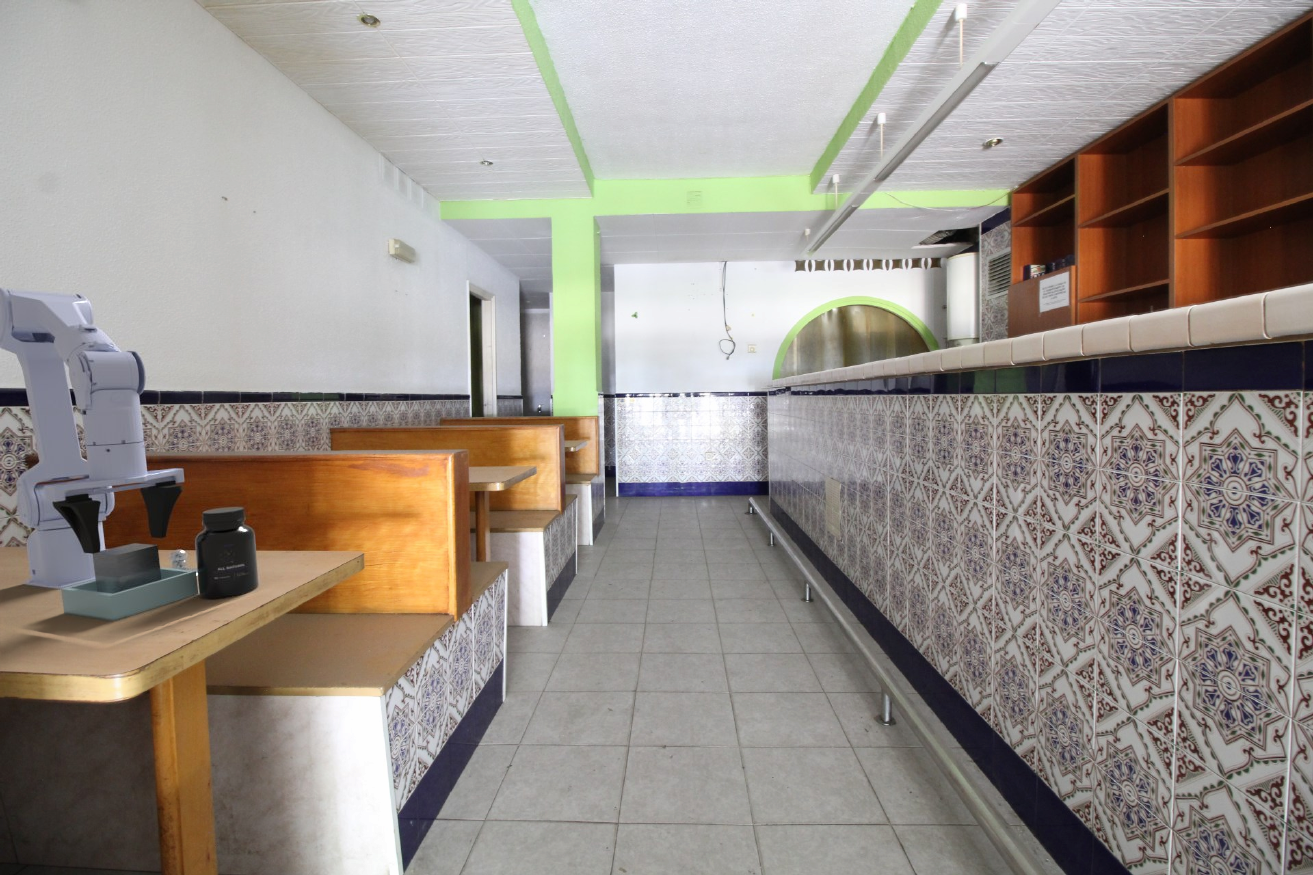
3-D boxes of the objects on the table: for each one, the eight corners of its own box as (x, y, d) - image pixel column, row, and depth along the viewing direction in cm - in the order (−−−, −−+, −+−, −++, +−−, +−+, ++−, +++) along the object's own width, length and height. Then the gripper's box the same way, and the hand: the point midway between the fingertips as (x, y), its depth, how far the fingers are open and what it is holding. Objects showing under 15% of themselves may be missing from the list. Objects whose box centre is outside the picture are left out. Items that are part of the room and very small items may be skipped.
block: (98, 606, 79) (92, 552, 78) (139, 593, 83) (134, 543, 83) (122, 609, 77) (116, 555, 77) (163, 596, 82) (157, 545, 81)
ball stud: (143, 581, 91) (140, 554, 90) (188, 569, 97) (185, 543, 96) (172, 585, 89) (168, 556, 88) (216, 571, 95) (213, 545, 94)
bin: (64, 615, 77) (61, 589, 77) (151, 590, 87) (148, 565, 86) (113, 623, 74) (110, 595, 74) (198, 596, 83) (196, 571, 83)
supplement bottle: (229, 603, 80) (220, 515, 79) (187, 601, 81) (178, 515, 80) (271, 586, 87) (263, 505, 86) (232, 584, 88) (224, 504, 87)
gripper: (64, 450, 70) (77, 562, 71) (194, 438, 84) (204, 532, 85) (28, 449, 72) (42, 558, 74) (161, 437, 86) (171, 529, 87)
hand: (126, 544), depth 80 cm, fingers open, 7 cm apart
